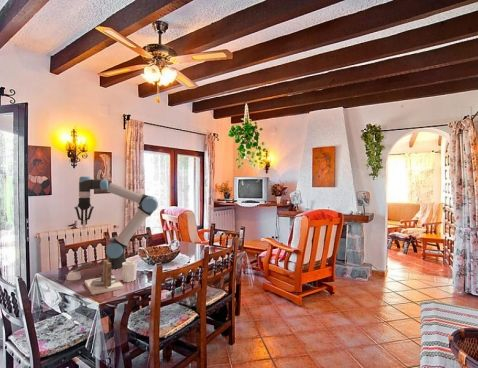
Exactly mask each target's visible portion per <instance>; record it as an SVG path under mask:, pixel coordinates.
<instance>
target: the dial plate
mask: <svg viewBox="0 0 478 368" xmlns="http://www.w3.org/2000/svg"><path fill="white" fill-rule="evenodd" d="M99 278H100V277H97V278H92V279H85V280H84V284H85V286H86V288H87V289H88V291H89V292H90V293H91V295H98V294H104V293H108V292H109V293H110V292H113V291H119V290H123V289H124V284H123V283H122V282H121V281H120V280H119V279H118V278H117V277H115V275H111V278H115V283H113V284H111V286H110V287H107V286H94V285H92V281H93V280H95V279H99Z"/></svg>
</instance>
